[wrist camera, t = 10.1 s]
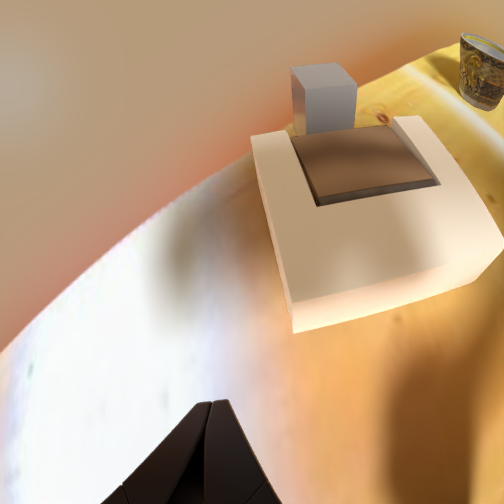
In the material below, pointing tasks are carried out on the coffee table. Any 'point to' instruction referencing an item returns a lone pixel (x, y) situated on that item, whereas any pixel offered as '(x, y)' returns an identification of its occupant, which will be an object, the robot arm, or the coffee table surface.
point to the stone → (322, 98)
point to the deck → (372, 234)
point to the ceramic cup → (481, 71)
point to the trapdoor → (358, 164)
